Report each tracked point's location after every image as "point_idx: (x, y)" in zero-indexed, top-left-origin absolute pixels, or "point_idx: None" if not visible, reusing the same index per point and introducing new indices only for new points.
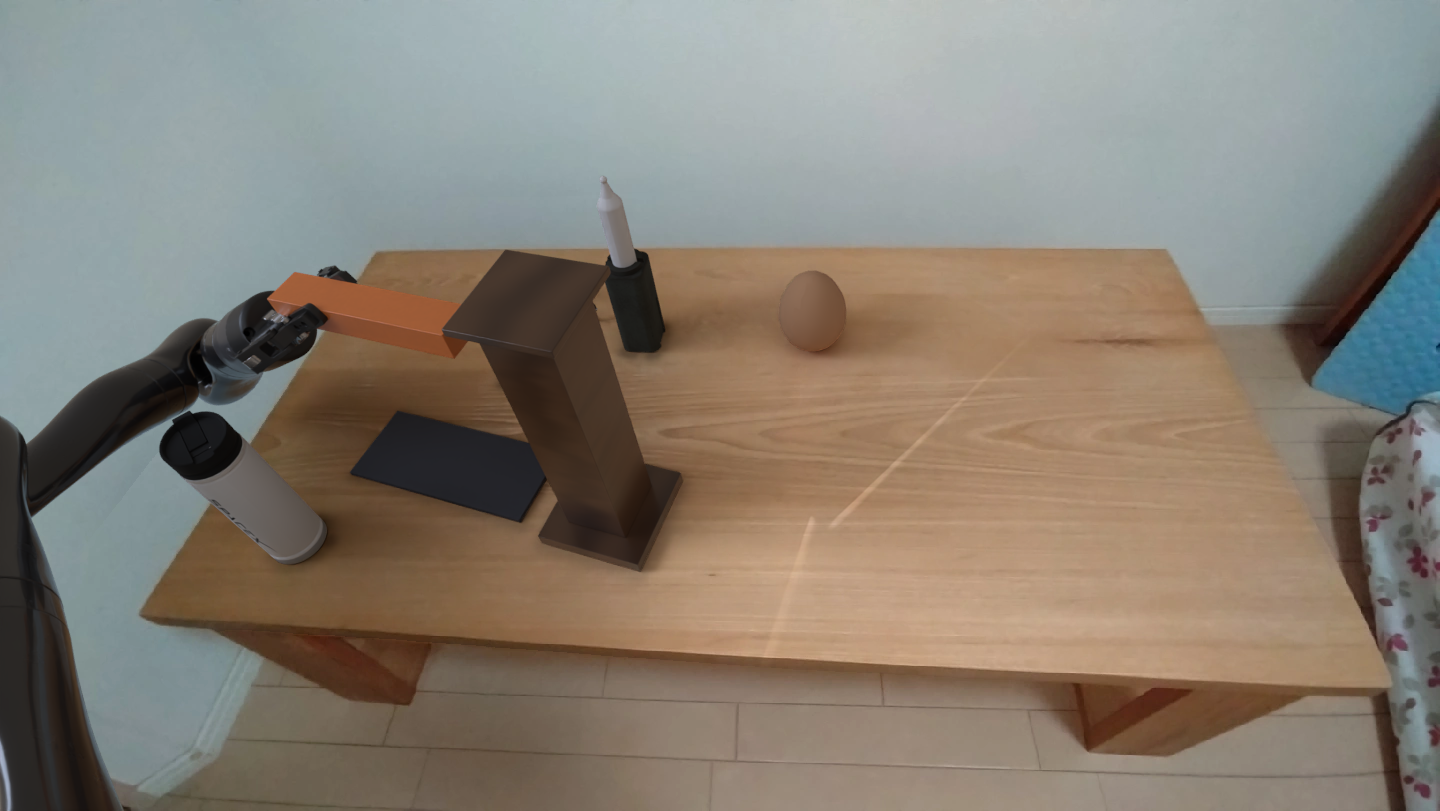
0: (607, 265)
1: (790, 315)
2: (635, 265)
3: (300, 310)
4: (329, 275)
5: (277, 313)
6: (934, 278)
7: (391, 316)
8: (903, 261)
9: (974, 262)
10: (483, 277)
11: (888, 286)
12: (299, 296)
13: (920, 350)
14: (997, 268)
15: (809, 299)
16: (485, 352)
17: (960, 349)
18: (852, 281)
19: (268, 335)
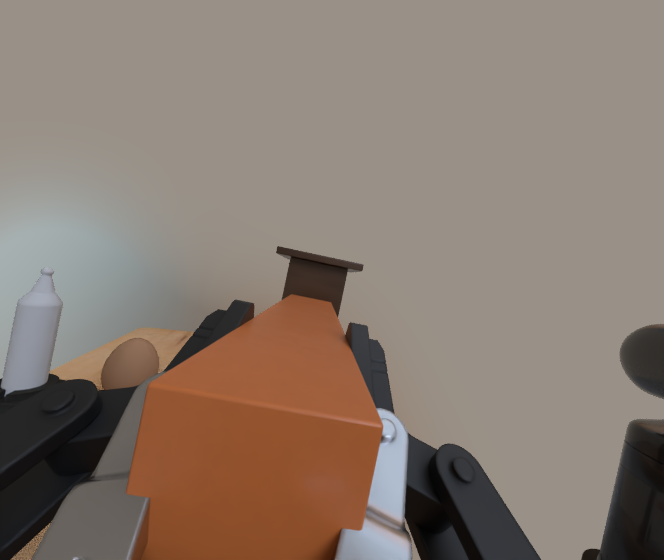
0: (21, 393)
1: (146, 364)
2: (52, 376)
3: (368, 344)
4: (90, 416)
5: (366, 517)
6: (99, 359)
7: (322, 308)
8: (67, 364)
9: (97, 349)
10: (310, 253)
11: (90, 370)
12: (322, 354)
13: (160, 369)
14: (110, 346)
15: (151, 347)
16: (342, 292)
17: (166, 361)
18: (66, 380)
19: (469, 459)
